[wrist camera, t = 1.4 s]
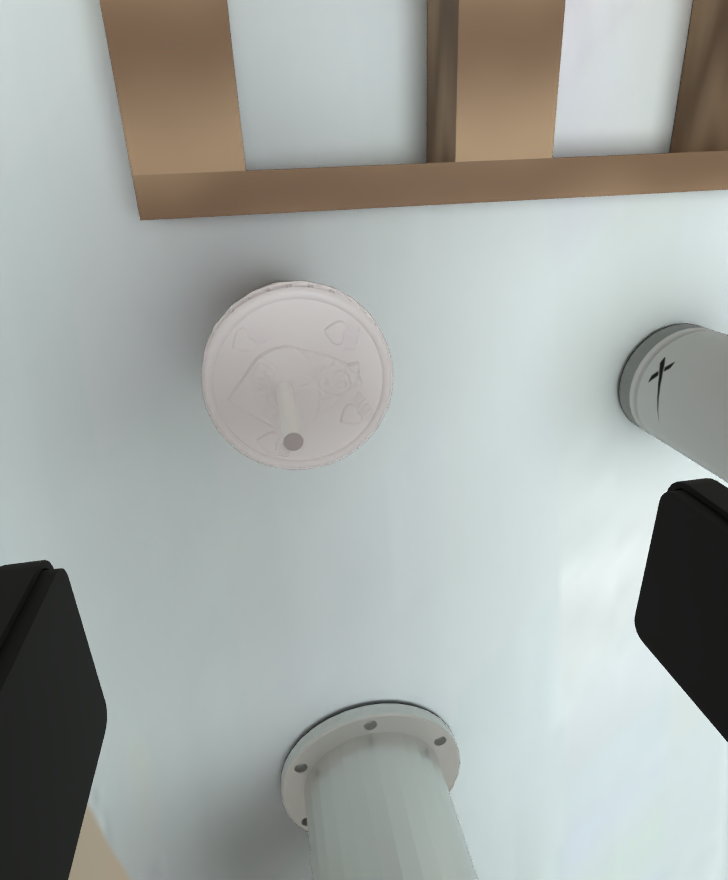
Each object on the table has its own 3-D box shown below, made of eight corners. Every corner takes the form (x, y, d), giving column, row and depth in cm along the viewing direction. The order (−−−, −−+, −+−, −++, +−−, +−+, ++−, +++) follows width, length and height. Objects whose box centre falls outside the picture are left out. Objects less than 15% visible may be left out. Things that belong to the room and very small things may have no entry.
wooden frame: (736, 184, 29) (805, 185, 26) (155, 214, 25) (140, 220, 21) (794, -100, 25) (888, -148, 21) (97, -121, 20) (65, -185, 17)
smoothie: (198, 265, 26) (153, 343, 14) (338, 239, 27) (418, 291, 14) (233, 397, 29) (223, 564, 16) (360, 370, 30) (443, 512, 17)
